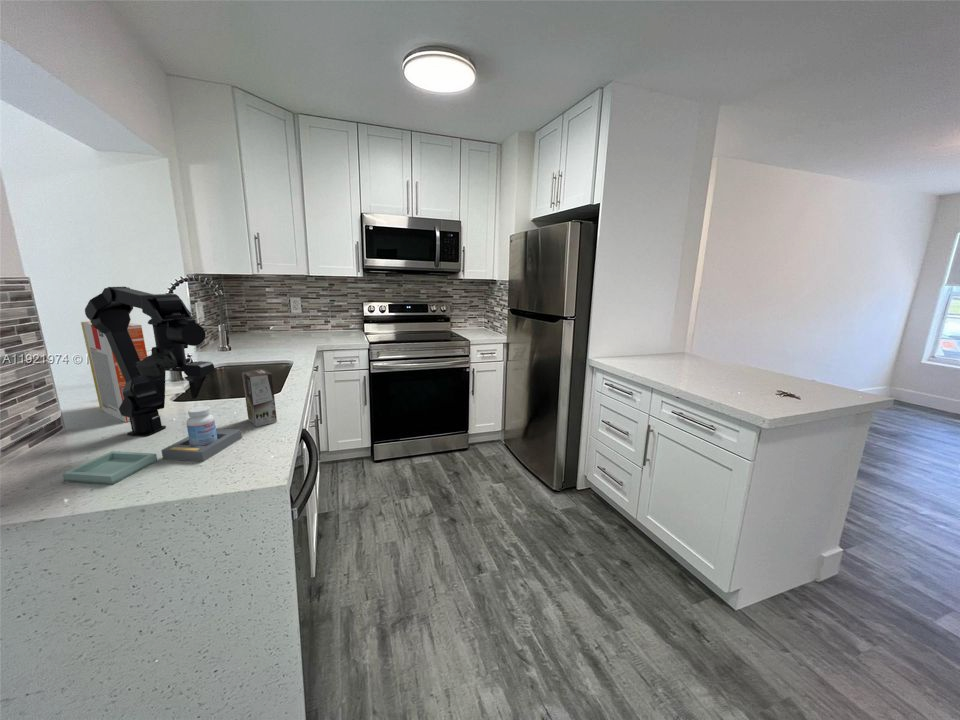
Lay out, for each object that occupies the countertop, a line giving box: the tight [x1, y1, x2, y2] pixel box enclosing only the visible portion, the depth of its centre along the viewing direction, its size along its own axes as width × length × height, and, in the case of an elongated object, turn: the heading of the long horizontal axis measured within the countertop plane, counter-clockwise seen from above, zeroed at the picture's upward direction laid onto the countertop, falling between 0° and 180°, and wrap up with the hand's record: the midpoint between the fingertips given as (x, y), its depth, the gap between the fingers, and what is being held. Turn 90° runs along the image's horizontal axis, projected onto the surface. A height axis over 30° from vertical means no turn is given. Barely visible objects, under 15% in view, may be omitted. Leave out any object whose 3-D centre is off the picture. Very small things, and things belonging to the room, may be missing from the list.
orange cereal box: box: [80, 320, 148, 424], centre depth 124 cm, size 23×8×30 cm, turn 59°
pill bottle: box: [186, 405, 218, 446], centre depth 101 cm, size 6×6×11 cm
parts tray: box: [61, 450, 158, 485], centre depth 90 cm, size 12×11×2 cm
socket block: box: [161, 428, 243, 462], centre depth 102 cm, size 11×14×3 cm
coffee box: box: [241, 368, 278, 428], centre depth 120 cm, size 9×6×16 cm
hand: (178, 397), depth 104 cm, fingers open, 9 cm apart
